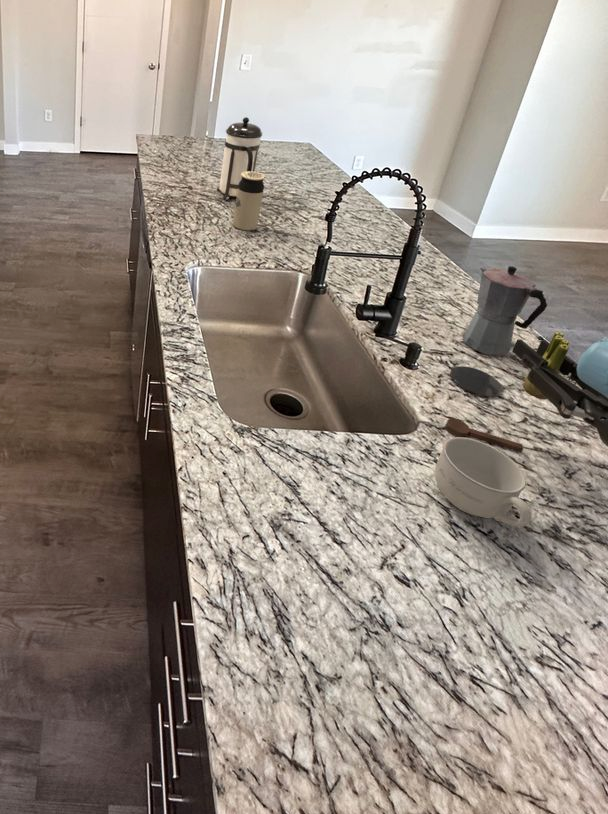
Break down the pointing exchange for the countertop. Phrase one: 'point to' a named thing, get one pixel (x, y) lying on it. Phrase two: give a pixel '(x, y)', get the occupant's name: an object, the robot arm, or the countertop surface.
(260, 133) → the coffee press
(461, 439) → the teacup
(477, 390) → the slate coaster
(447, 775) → the countertop surface
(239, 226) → the travel mug
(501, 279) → the moka pot
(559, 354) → the fennel bulb
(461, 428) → the wooden spoon
